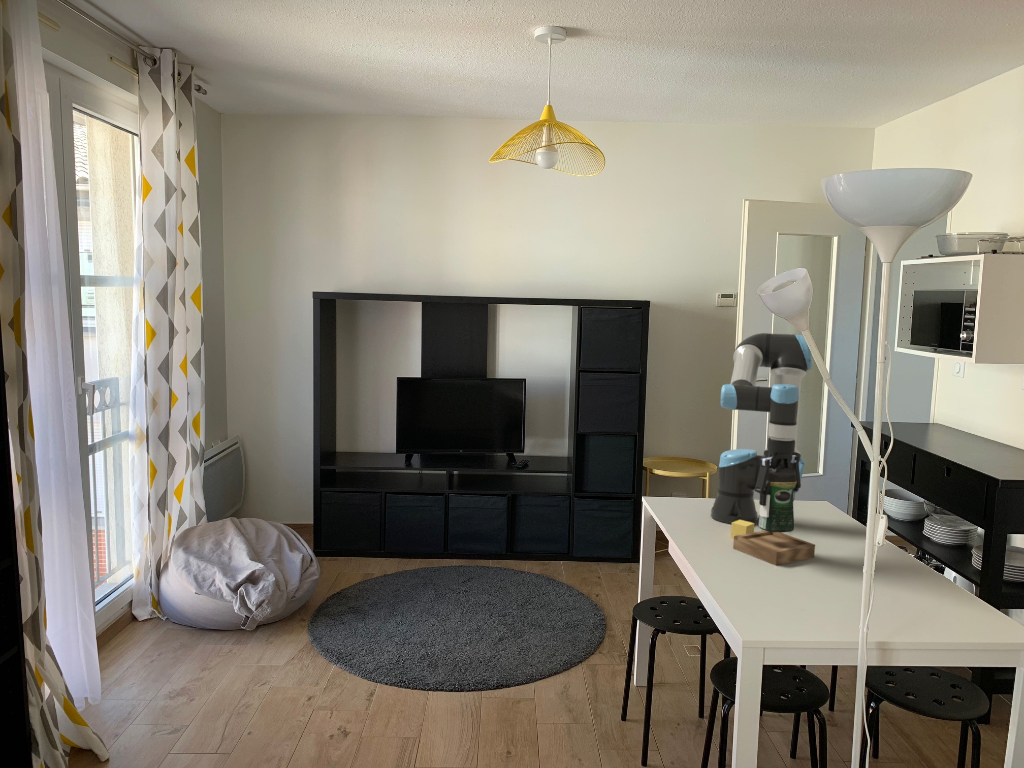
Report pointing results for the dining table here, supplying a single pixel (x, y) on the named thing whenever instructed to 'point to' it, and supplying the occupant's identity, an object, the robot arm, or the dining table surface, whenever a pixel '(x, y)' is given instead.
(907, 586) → the dining table surface
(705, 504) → the dining table surface
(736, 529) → the mustard cube
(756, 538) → the walnut tray
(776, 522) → the coffee jar
